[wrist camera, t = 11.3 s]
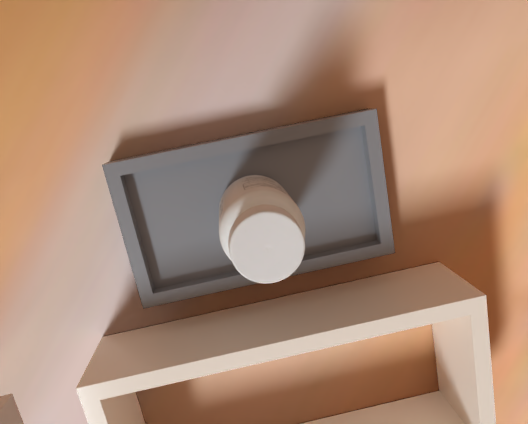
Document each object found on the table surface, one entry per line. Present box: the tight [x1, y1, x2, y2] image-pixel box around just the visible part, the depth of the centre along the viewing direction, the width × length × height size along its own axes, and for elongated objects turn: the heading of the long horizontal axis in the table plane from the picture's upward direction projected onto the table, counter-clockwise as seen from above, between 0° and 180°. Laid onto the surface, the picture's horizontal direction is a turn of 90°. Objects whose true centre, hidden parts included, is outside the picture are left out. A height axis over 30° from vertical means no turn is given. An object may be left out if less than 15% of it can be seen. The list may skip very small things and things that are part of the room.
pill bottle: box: [219, 175, 305, 284], centre depth 24 cm, size 4×4×8 cm
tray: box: [102, 109, 395, 309], centre depth 27 cm, size 16×9×2 cm, turn 101°
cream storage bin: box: [76, 262, 496, 424], centre depth 28 cm, size 23×11×6 cm, turn 101°
